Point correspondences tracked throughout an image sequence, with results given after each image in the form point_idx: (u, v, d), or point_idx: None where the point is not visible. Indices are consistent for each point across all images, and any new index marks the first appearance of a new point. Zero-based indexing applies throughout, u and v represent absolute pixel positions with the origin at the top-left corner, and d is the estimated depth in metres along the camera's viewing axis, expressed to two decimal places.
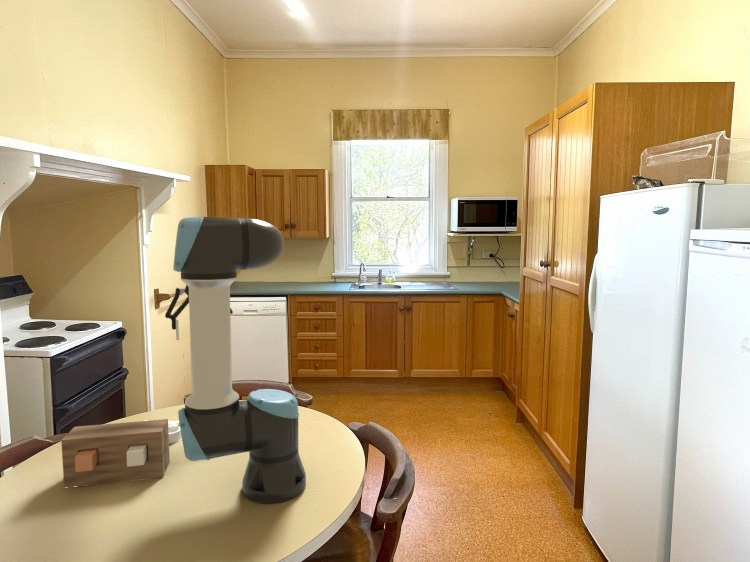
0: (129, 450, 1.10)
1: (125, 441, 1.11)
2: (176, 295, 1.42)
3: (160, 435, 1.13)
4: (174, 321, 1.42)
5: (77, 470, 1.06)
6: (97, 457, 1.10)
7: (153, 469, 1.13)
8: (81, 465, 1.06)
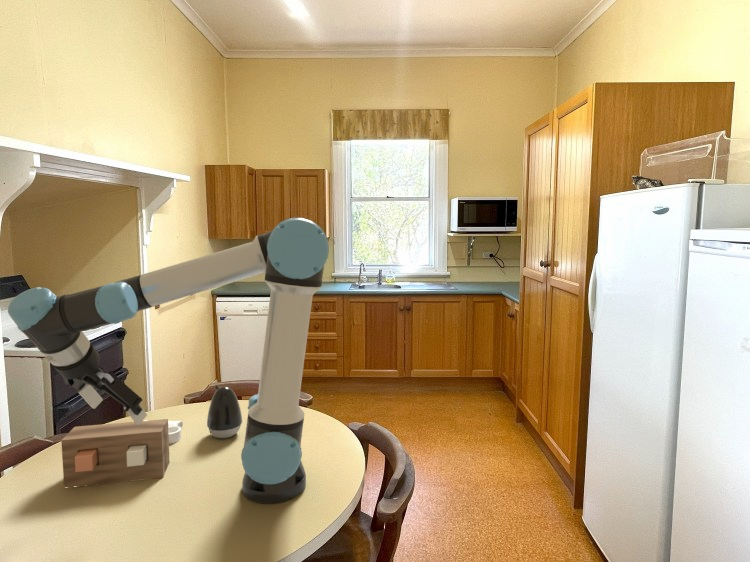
0: (129, 450, 1.10)
1: (125, 441, 1.11)
2: None
3: (160, 435, 1.13)
4: None
5: (77, 470, 1.06)
6: (97, 457, 1.10)
7: (153, 469, 1.13)
8: (81, 465, 1.06)
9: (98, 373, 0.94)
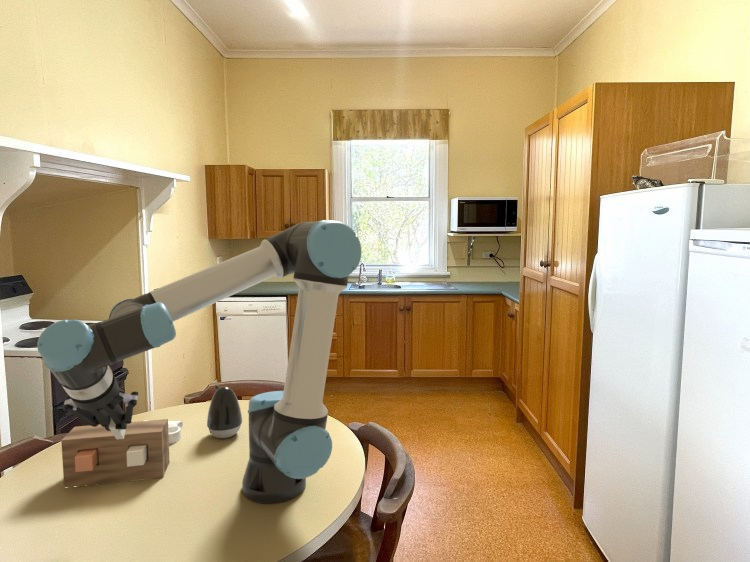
0: (129, 450, 1.10)
1: (125, 441, 1.11)
2: None
3: (160, 435, 1.13)
4: None
5: (77, 470, 1.06)
6: (97, 457, 1.10)
7: (153, 469, 1.13)
8: (81, 465, 1.06)
9: (122, 395, 0.87)
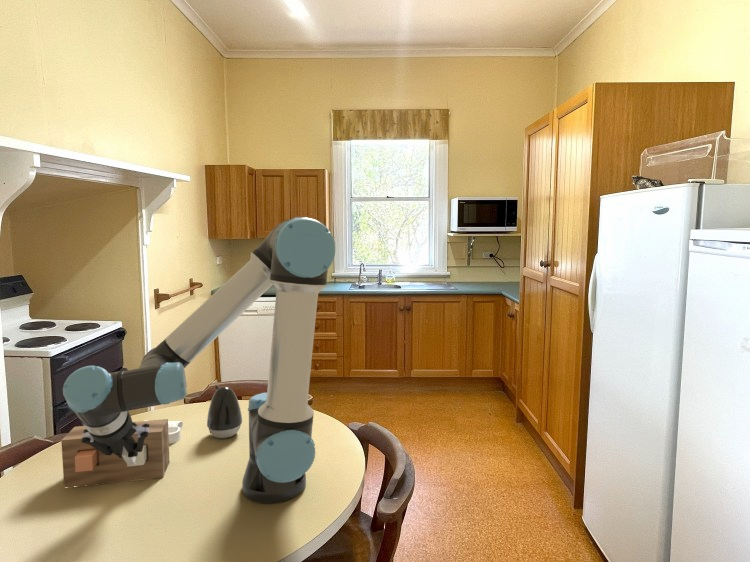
0: None
1: None
2: None
3: (160, 435, 1.13)
4: None
5: (77, 470, 1.06)
6: (97, 457, 1.10)
7: (153, 469, 1.13)
8: (81, 465, 1.06)
9: (135, 427, 0.96)
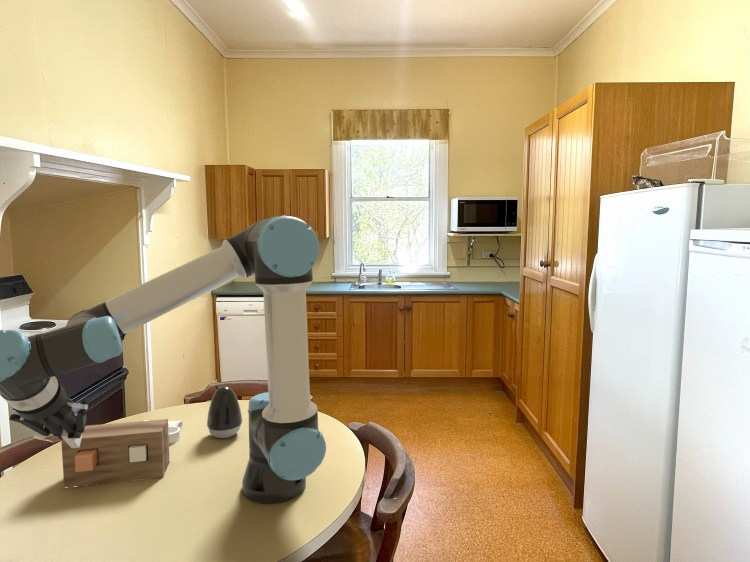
0: (131, 446, 1.12)
1: (125, 441, 1.11)
2: None
3: (160, 435, 1.13)
4: None
5: (77, 470, 1.06)
6: (97, 457, 1.10)
7: (153, 469, 1.13)
8: (81, 465, 1.06)
9: (71, 404, 0.86)
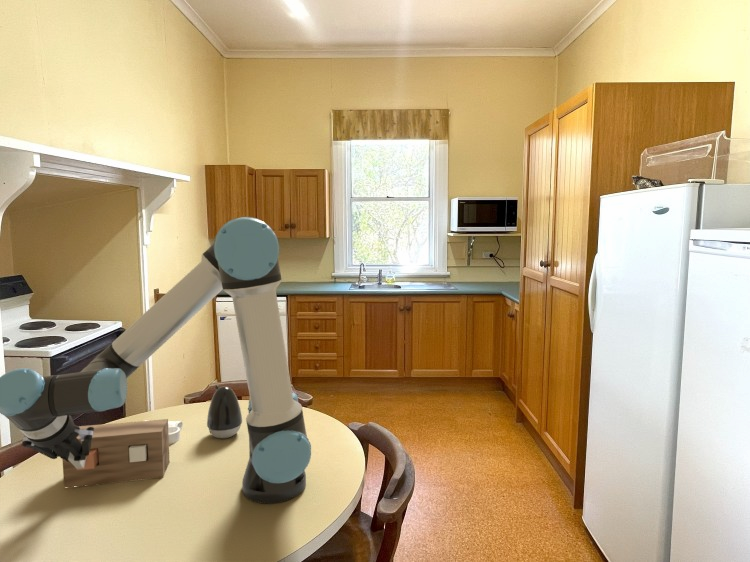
0: (131, 446, 1.12)
1: (125, 441, 1.11)
2: None
3: (160, 435, 1.13)
4: None
5: None
6: (98, 455, 1.11)
7: (153, 469, 1.13)
8: None
9: (78, 431, 0.94)
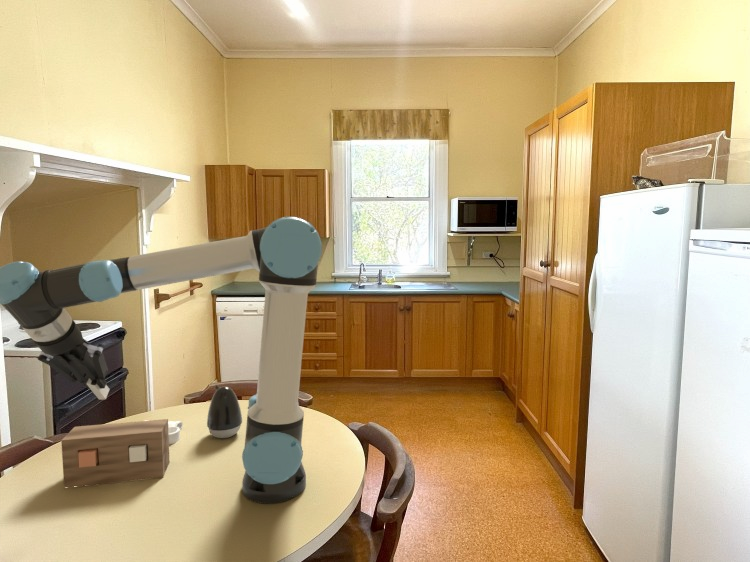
0: (131, 446, 1.12)
1: (125, 441, 1.11)
2: None
3: (160, 435, 1.13)
4: None
5: (80, 466, 1.08)
6: None
7: (153, 469, 1.13)
8: (84, 460, 1.08)
9: (87, 345, 0.95)
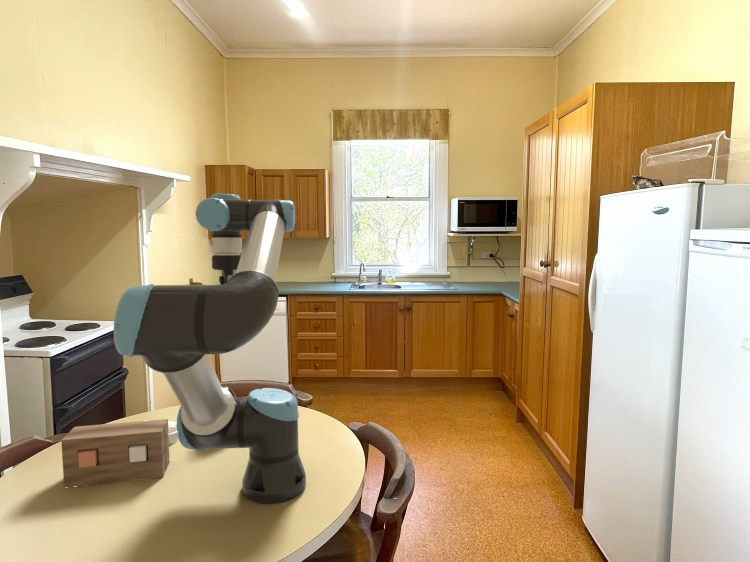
0: (131, 446, 1.12)
1: (125, 441, 1.11)
2: None
3: (160, 435, 1.13)
4: None
5: (80, 466, 1.08)
6: None
7: (153, 469, 1.13)
8: (84, 460, 1.08)
9: (229, 277, 1.15)
